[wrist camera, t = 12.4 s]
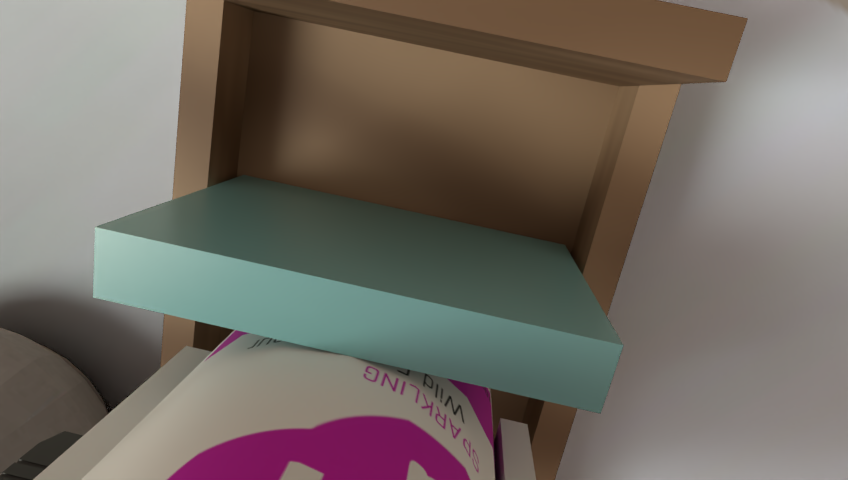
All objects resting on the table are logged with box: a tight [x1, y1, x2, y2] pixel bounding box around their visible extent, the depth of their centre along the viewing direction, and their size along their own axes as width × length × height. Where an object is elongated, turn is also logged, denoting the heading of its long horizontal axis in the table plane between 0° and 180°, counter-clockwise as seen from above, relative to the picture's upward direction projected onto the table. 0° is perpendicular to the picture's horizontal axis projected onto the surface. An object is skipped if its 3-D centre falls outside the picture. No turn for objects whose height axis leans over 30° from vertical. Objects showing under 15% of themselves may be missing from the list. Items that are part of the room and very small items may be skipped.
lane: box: [160, 0, 748, 480], centre depth 16 cm, size 24×13×8 cm, turn 169°
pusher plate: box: [93, 175, 623, 414], centre depth 14 cm, size 2×10×7 cm, turn 79°
